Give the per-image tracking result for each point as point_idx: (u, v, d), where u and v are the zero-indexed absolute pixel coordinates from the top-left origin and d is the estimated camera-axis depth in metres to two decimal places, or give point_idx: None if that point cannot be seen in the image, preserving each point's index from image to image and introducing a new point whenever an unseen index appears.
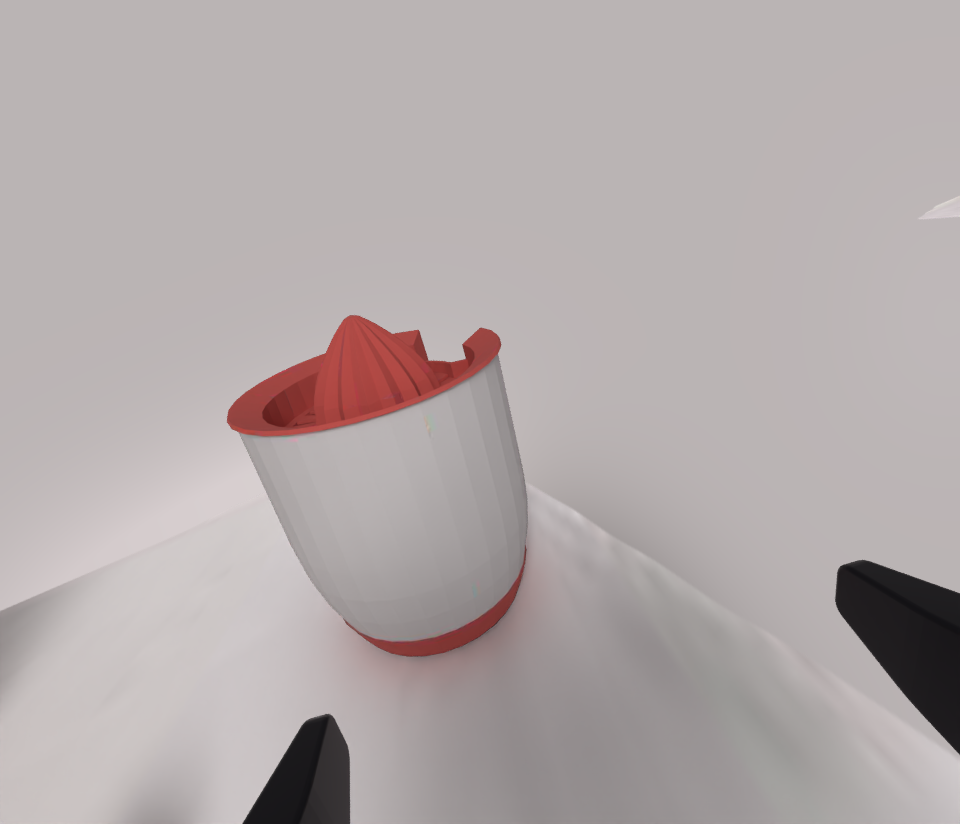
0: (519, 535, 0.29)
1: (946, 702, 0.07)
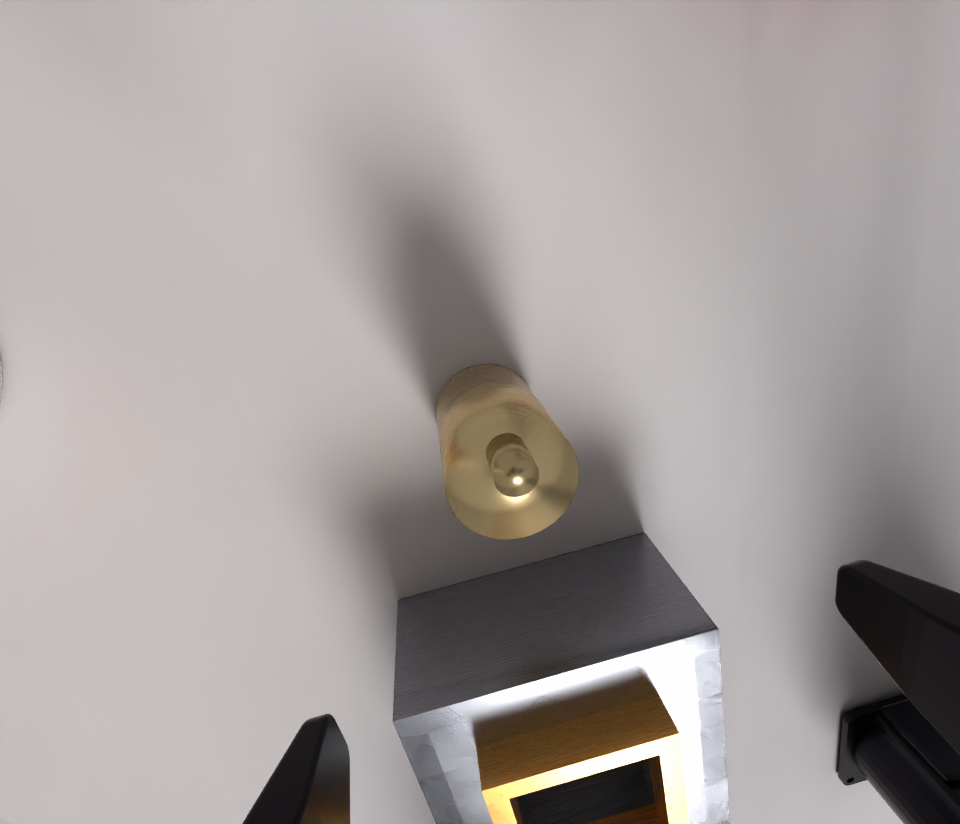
0: None
1: (946, 702, 0.07)
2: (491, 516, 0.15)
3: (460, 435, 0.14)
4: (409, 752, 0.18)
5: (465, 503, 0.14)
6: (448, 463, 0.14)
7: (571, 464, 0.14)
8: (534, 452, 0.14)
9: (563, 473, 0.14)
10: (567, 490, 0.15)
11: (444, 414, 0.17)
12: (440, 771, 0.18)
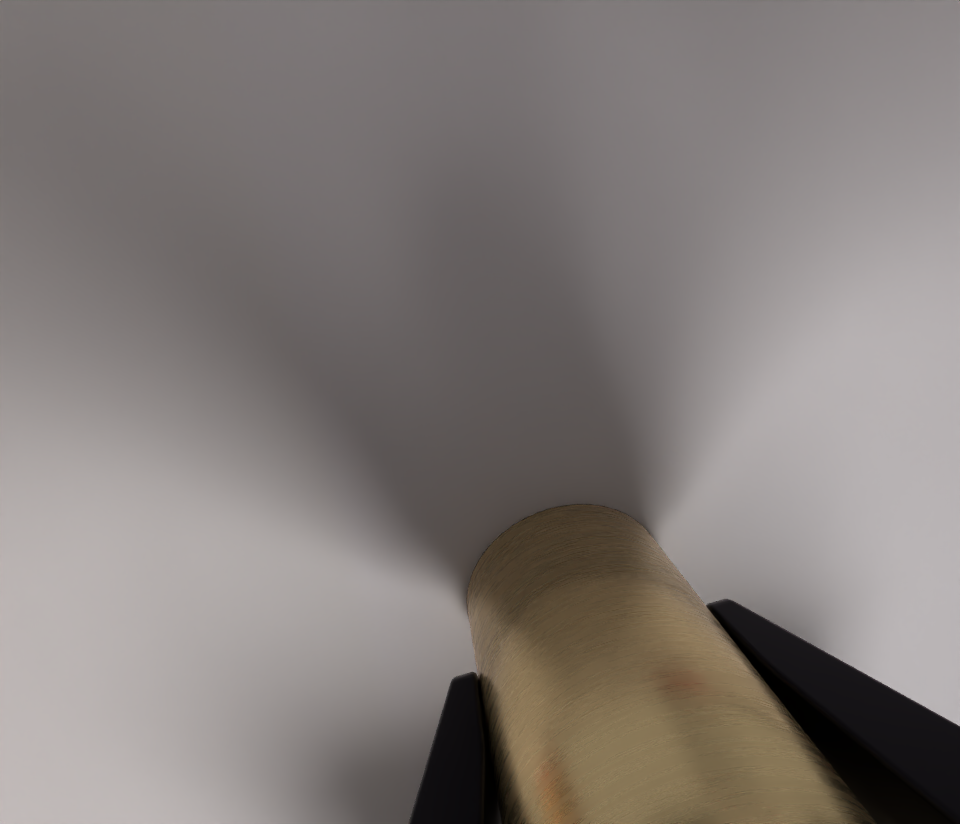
0: None
1: None
2: None
3: None
4: None
5: None
6: None
7: None
8: None
9: None
10: None
11: (501, 674, 0.07)
12: None
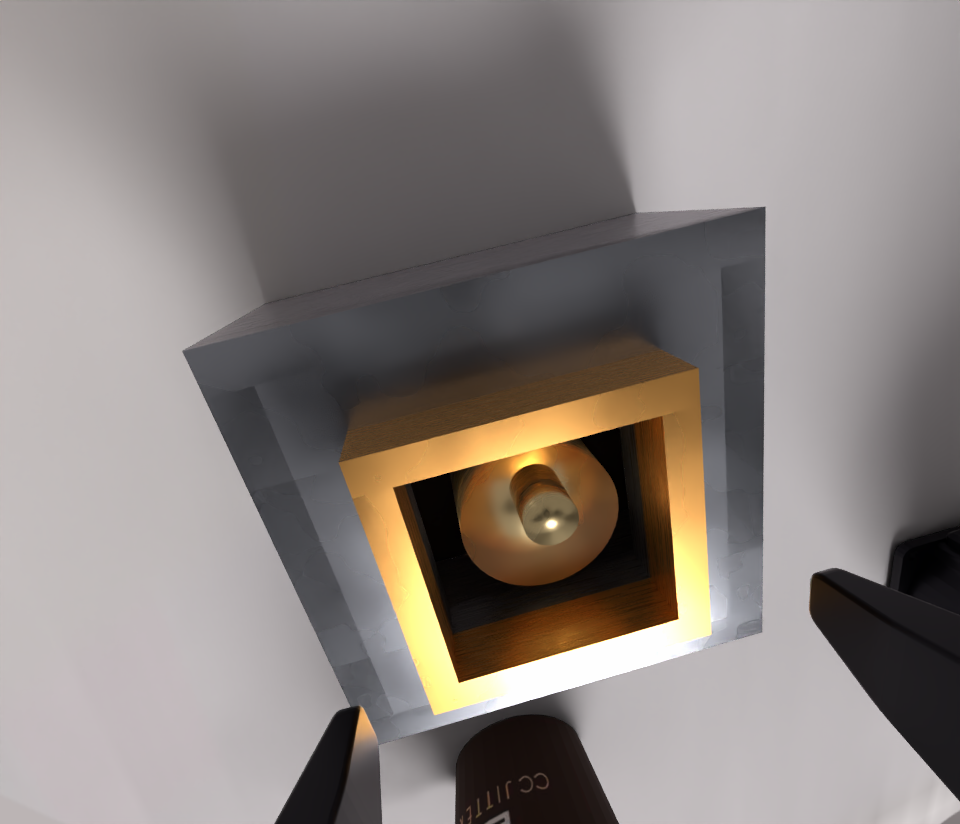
0: None
1: (914, 712, 0.07)
2: (514, 560, 0.12)
3: (478, 465, 0.12)
4: (224, 427, 0.10)
5: (484, 545, 0.12)
6: (464, 499, 0.12)
7: (610, 498, 0.12)
8: (567, 485, 0.12)
9: (600, 510, 0.12)
10: (604, 528, 0.12)
11: None
12: (288, 477, 0.11)
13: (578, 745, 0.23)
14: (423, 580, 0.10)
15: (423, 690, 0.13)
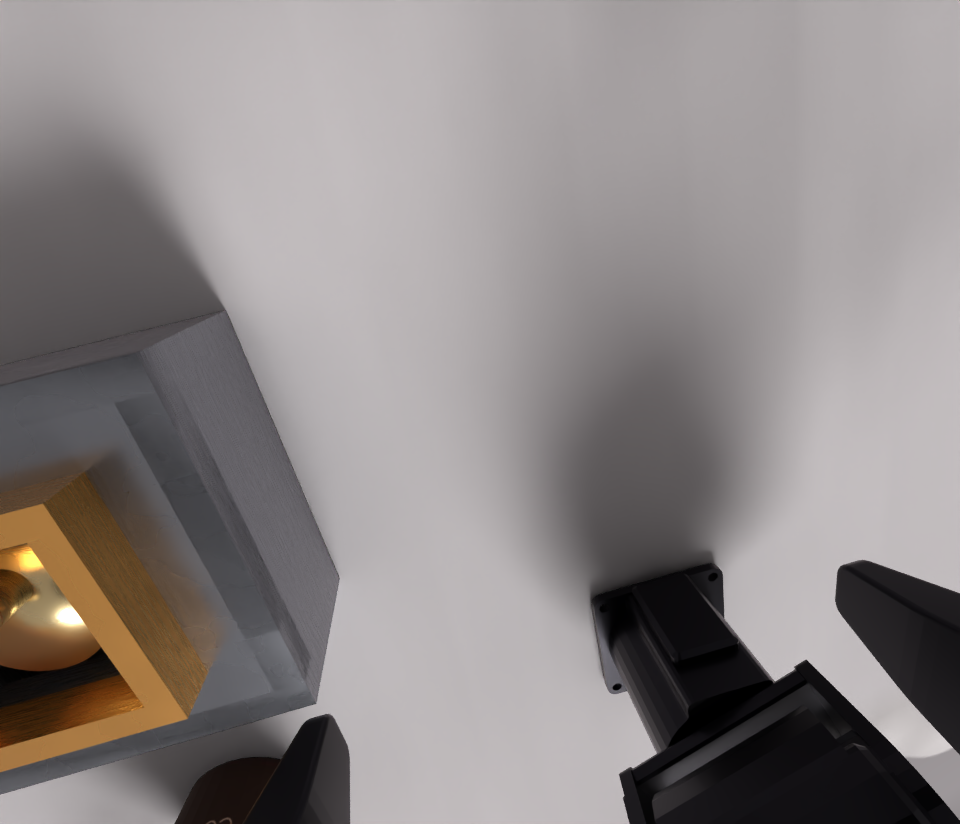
0: None
1: (946, 702, 0.07)
2: (15, 649, 0.14)
3: None
4: None
5: None
6: None
7: None
8: (41, 586, 0.13)
9: None
10: None
11: None
12: None
13: None
14: None
15: None
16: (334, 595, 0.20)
